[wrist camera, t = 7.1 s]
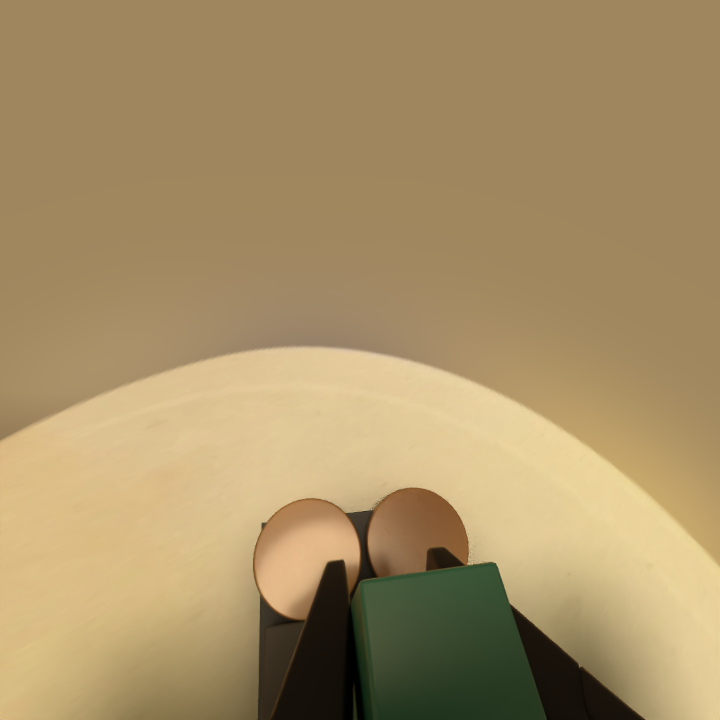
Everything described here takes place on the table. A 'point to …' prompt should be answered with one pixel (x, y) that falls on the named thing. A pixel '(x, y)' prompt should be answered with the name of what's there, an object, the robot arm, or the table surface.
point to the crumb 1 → (303, 554)
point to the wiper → (426, 650)
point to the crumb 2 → (412, 532)
